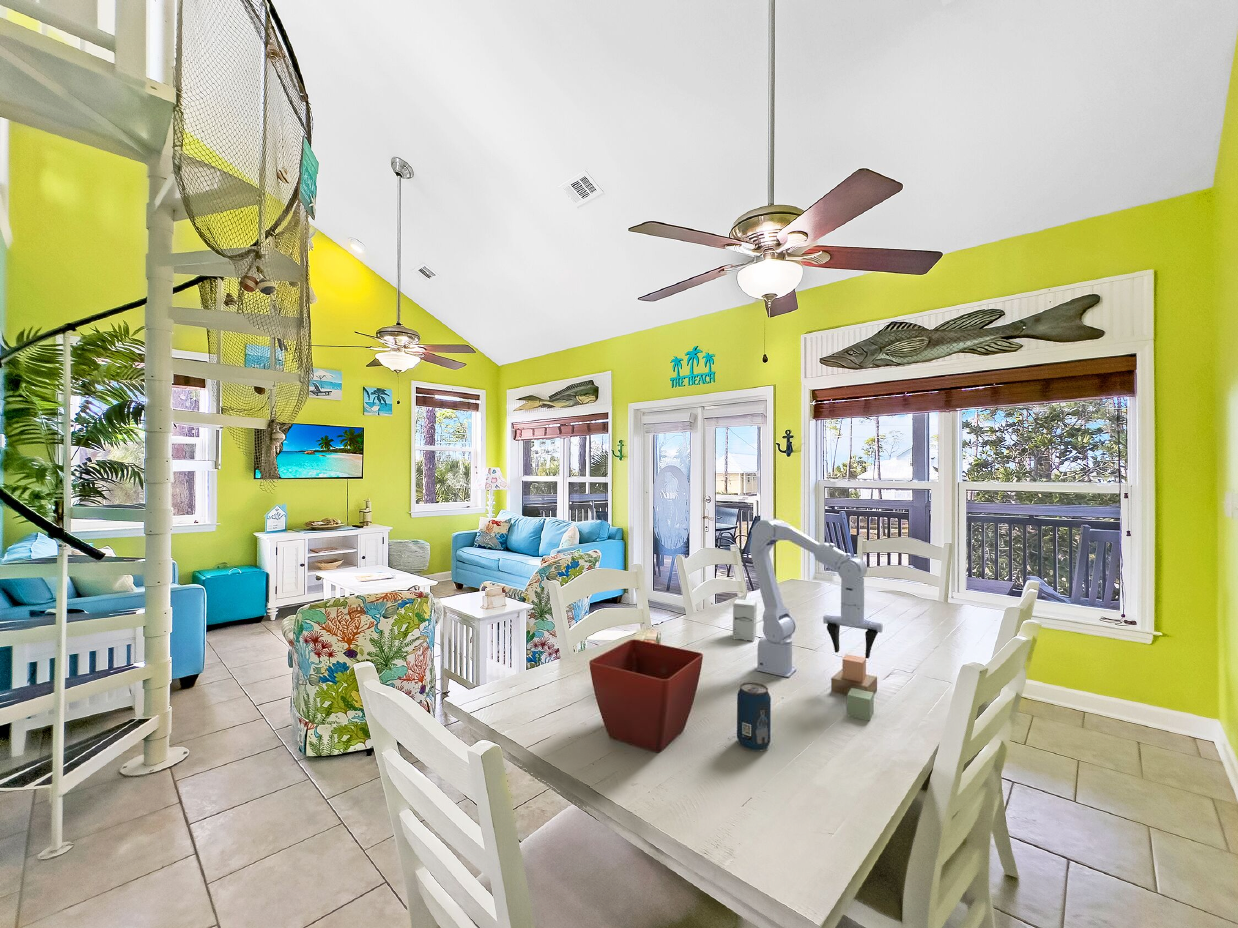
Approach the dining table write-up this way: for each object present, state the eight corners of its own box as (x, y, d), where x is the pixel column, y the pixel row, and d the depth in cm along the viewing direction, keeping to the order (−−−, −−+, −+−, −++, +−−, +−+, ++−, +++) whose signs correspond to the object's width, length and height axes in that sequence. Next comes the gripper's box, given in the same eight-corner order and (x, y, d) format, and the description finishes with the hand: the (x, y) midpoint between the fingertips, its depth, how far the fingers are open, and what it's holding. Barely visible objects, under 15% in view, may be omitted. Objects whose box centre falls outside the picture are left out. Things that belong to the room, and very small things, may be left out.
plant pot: (665, 766, 106) (666, 679, 107) (586, 740, 117) (586, 661, 117) (704, 728, 123) (704, 653, 123) (631, 707, 133) (632, 638, 133)
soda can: (745, 733, 120) (746, 678, 120) (775, 743, 116) (776, 686, 116) (730, 745, 115) (731, 688, 115) (761, 756, 110) (762, 697, 111)
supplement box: (732, 639, 188) (732, 602, 189) (735, 633, 195) (736, 598, 195) (753, 642, 186) (754, 605, 186) (756, 636, 192) (757, 600, 193)
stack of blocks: (640, 660, 166) (641, 620, 167) (661, 662, 165) (661, 621, 166) (630, 687, 145) (631, 641, 146) (654, 689, 144) (654, 643, 145)
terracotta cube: (842, 678, 144) (842, 659, 144) (845, 672, 148) (846, 654, 148) (862, 682, 141) (863, 663, 141) (865, 676, 145) (865, 657, 145)
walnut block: (831, 693, 144) (831, 677, 144) (842, 683, 151) (842, 668, 151) (867, 702, 138) (867, 686, 138) (877, 691, 145) (877, 676, 145)
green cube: (847, 715, 130) (847, 694, 130) (851, 708, 134) (851, 687, 134) (870, 721, 127) (870, 699, 127) (873, 713, 131) (873, 692, 131)
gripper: (820, 602, 146) (820, 653, 146) (879, 610, 138) (879, 664, 138) (827, 597, 152) (826, 646, 152) (884, 605, 144) (883, 656, 144)
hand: (852, 654), depth 145 cm, fingers open, 7 cm apart
